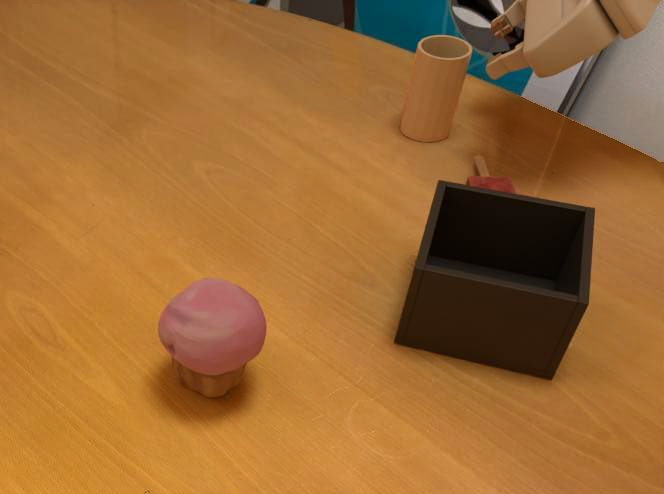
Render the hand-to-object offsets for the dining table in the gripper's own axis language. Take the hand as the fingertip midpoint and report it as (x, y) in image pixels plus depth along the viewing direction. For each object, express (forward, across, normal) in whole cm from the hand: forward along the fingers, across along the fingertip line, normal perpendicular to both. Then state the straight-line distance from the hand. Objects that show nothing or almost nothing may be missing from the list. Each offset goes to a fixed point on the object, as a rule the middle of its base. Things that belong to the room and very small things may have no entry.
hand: (491, 50), depth 95 cm
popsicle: (+5, +14, +9) cm, 17 cm away
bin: (+4, +32, +9) cm, 34 cm away
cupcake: (+20, +48, -6) cm, 52 cm away
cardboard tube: (+10, +1, +4) cm, 11 cm away
